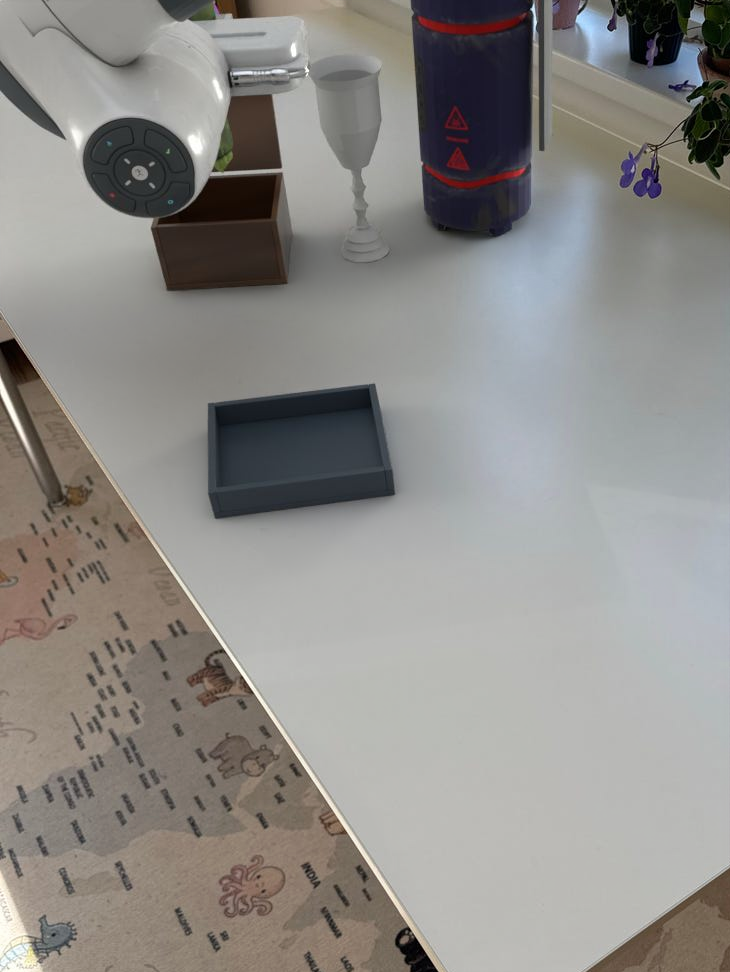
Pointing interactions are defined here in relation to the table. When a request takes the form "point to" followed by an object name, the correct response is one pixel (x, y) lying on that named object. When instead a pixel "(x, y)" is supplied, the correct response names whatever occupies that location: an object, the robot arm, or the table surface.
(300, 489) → the tray
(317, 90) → the chalice
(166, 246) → the chest
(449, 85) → the navy canister
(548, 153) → the table surface
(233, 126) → the lid
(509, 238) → the table surface
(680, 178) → the table surface
